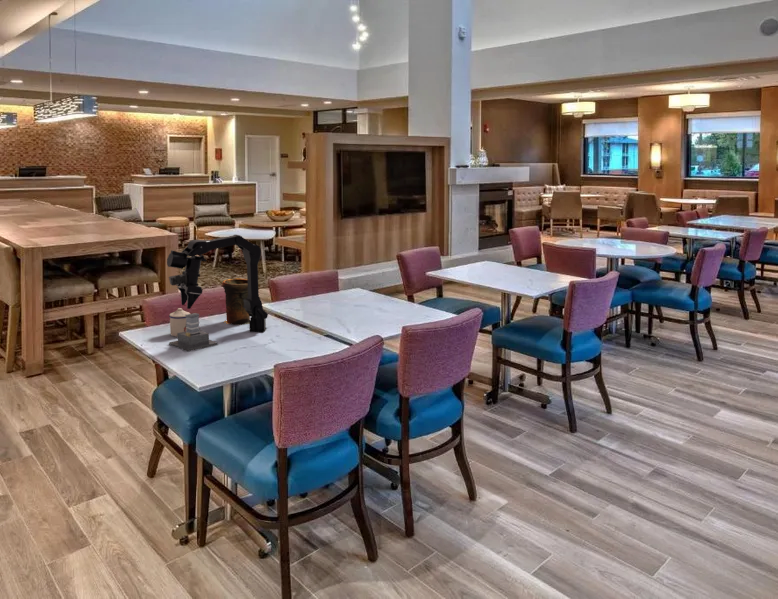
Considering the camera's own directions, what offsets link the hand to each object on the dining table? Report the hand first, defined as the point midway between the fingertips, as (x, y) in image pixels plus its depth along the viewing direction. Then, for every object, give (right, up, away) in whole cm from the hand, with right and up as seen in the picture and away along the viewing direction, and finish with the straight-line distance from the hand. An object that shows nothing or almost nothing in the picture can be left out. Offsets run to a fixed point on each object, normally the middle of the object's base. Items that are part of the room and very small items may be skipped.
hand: (185, 306), depth 263 cm
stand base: (+4, -16, -1) cm, 16 cm away
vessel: (+13, -8, +39) cm, 42 cm away
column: (+4, -15, -2) cm, 15 cm away
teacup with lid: (-7, -12, +16) cm, 21 cm away
